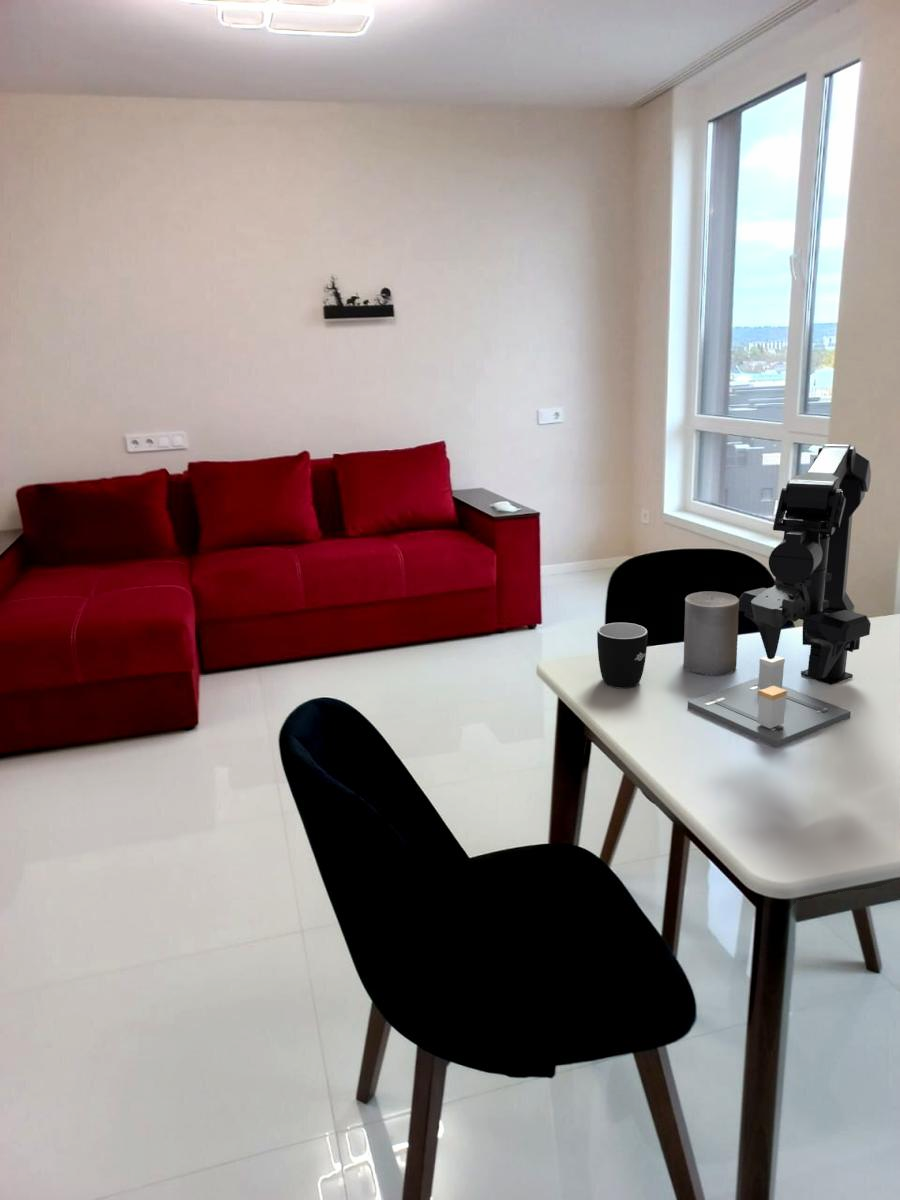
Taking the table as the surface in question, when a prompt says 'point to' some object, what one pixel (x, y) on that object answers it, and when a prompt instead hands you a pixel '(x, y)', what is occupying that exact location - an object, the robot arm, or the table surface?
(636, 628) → the mug
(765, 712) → the fader
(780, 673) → the fader
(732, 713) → the console
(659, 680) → the table surface
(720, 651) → the pillar candle
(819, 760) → the table surface
